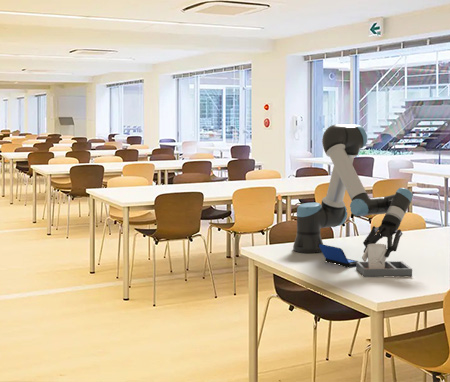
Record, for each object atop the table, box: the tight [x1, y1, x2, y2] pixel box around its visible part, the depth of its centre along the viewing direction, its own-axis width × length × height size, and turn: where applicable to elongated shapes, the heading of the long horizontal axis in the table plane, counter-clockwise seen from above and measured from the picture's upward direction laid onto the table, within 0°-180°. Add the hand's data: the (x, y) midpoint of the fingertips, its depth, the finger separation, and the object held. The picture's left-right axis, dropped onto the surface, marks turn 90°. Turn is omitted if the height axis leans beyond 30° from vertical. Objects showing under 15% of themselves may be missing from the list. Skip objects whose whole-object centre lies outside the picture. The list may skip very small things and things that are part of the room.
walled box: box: [355, 260, 413, 278], centre depth 282 cm, size 20×15×3 cm
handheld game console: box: [319, 243, 359, 268], centre depth 299 cm, size 16×13×9 cm
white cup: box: [367, 243, 387, 269], centre depth 282 cm, size 8×8×10 cm
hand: (372, 261), depth 279 cm, fingers closed on white cup, 8 cm apart
